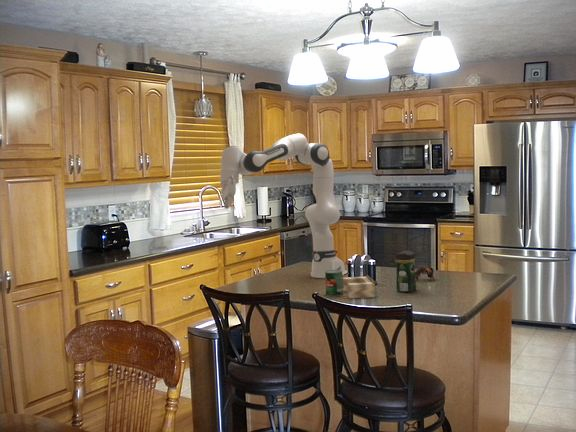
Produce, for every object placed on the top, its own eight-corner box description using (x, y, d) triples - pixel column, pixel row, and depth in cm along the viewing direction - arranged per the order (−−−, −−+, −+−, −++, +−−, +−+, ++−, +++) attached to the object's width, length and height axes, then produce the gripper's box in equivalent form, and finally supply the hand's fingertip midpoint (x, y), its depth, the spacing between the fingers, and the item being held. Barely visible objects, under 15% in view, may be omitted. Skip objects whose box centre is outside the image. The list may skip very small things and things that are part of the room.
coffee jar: (402, 288, 291) (401, 249, 290) (418, 289, 287) (417, 249, 285) (393, 292, 284) (392, 251, 282) (409, 293, 279) (408, 252, 278)
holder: (349, 298, 274) (349, 283, 273) (343, 290, 293) (343, 276, 292) (375, 297, 274) (374, 281, 274) (367, 288, 293) (367, 274, 293)
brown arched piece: (431, 283, 302) (422, 269, 302) (417, 290, 309) (408, 276, 309) (442, 274, 310) (433, 260, 311) (428, 280, 317) (419, 266, 318)
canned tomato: (323, 296, 281) (322, 272, 280) (328, 292, 288) (327, 269, 287) (340, 296, 278) (339, 272, 277) (345, 293, 285) (344, 269, 284)
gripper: (239, 175, 290) (238, 204, 288) (232, 183, 310) (231, 210, 308) (226, 173, 288) (224, 203, 286) (220, 182, 308) (218, 209, 306)
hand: (228, 206), depth 297 cm, fingers open, 8 cm apart
